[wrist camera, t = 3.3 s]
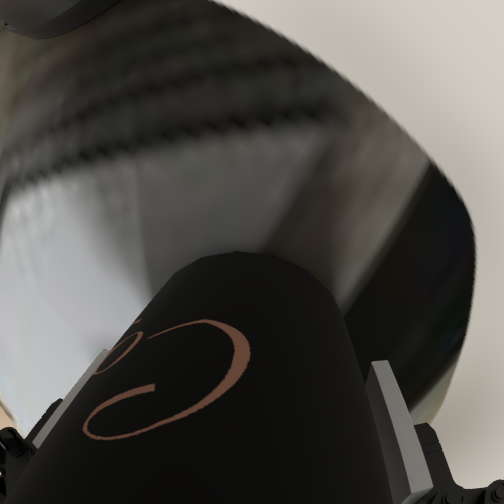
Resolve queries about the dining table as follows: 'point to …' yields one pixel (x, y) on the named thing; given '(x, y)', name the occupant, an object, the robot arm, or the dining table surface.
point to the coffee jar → (220, 401)
